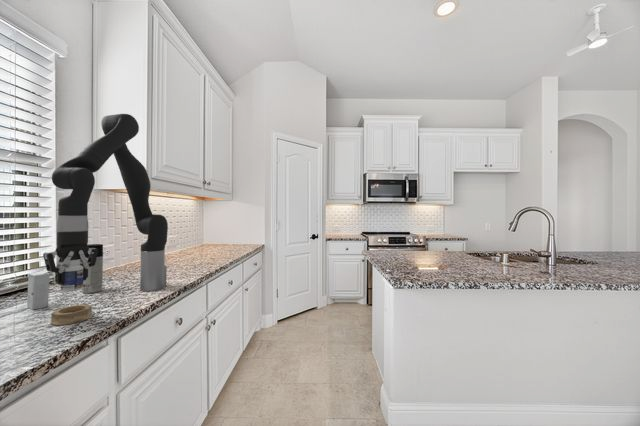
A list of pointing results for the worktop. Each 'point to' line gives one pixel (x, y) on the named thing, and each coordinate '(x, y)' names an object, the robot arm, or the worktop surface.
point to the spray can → (94, 272)
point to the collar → (71, 314)
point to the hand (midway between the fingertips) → (72, 282)
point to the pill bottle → (73, 276)
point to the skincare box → (38, 290)
